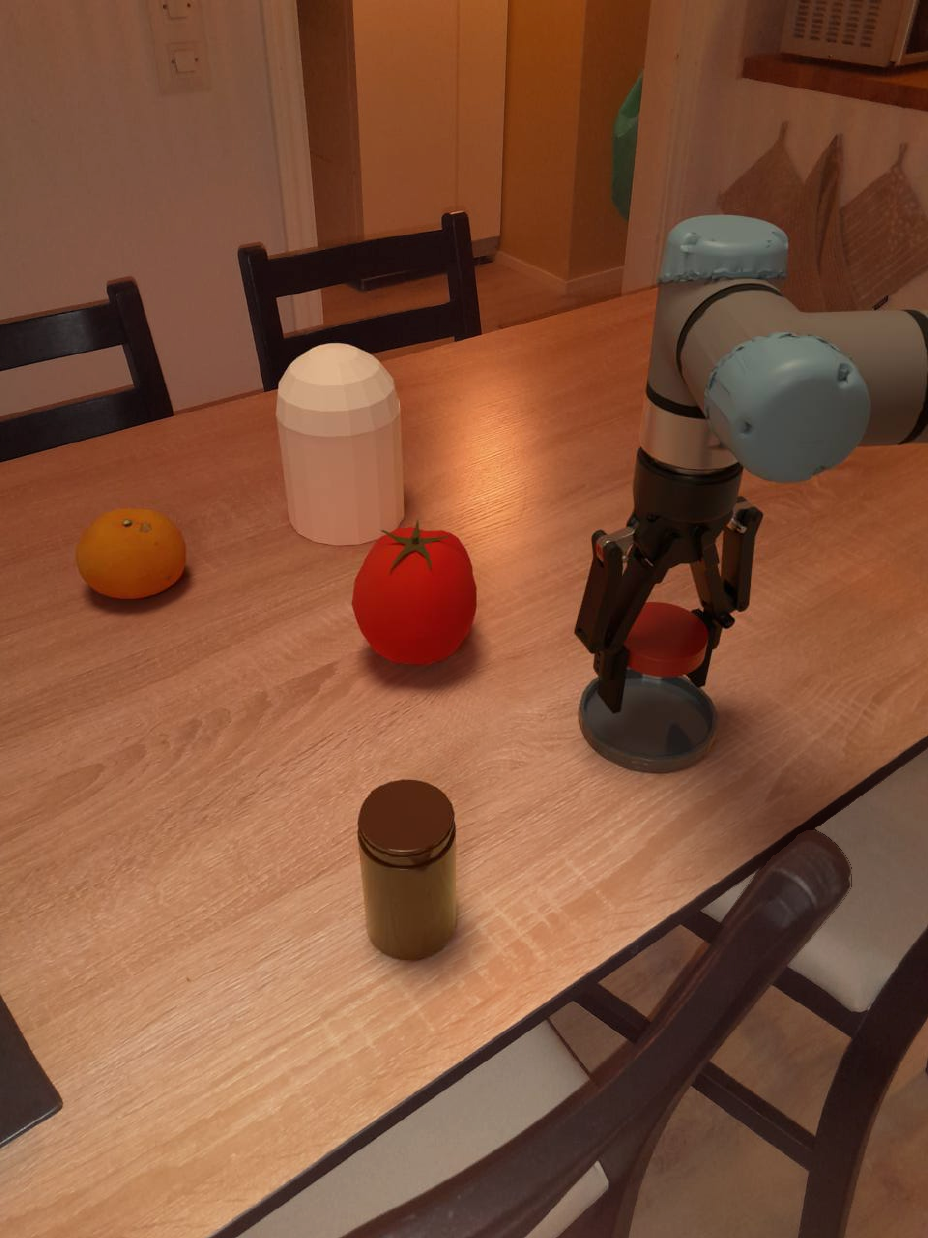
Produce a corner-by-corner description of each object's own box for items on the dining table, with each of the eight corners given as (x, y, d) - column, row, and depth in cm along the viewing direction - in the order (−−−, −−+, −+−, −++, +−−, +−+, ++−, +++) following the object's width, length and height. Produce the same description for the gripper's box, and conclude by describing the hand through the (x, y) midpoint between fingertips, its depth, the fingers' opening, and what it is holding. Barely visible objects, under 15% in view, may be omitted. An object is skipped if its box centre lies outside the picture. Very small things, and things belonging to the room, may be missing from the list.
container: (395, 549, 106) (387, 378, 94) (275, 542, 107) (252, 372, 95) (412, 487, 116) (407, 325, 104) (303, 481, 117) (285, 320, 105)
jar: (474, 923, 69) (476, 816, 62) (405, 978, 65) (399, 872, 58) (416, 868, 72) (411, 762, 65) (348, 918, 69) (335, 811, 62)
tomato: (506, 650, 93) (511, 534, 84) (408, 710, 86) (403, 591, 78) (426, 596, 99) (423, 484, 91) (329, 649, 93) (317, 533, 84)
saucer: (742, 749, 82) (745, 736, 81) (621, 789, 79) (623, 776, 78) (667, 665, 91) (669, 653, 90) (555, 698, 87) (556, 685, 86)
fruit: (157, 623, 96) (141, 556, 91) (66, 603, 98) (45, 537, 93) (210, 565, 103) (198, 501, 98) (124, 548, 106) (108, 485, 101)
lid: (633, 608, 84) (635, 591, 83) (718, 637, 81) (721, 620, 80) (596, 657, 79) (598, 640, 78) (685, 690, 76) (688, 672, 74)
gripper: (589, 506, 63) (564, 752, 77) (842, 448, 69) (777, 686, 83) (538, 453, 68) (524, 693, 82) (777, 404, 74) (726, 634, 88)
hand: (651, 689), depth 83 cm, fingers closed on lid, 8 cm apart
